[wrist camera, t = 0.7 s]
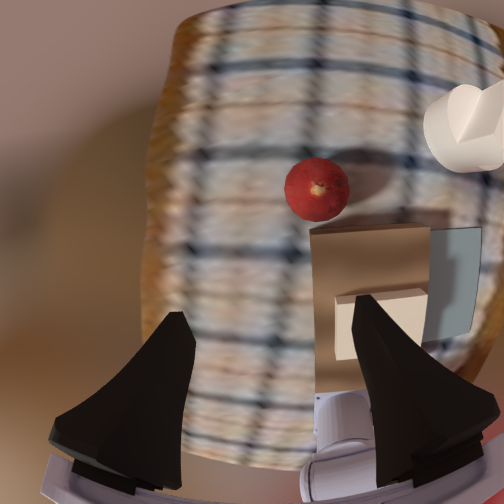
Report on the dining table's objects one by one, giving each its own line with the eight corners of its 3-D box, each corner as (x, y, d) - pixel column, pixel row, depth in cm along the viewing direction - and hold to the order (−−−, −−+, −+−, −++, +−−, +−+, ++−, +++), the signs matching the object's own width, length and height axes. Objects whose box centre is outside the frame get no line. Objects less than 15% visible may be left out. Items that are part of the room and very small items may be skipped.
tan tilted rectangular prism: (413, 339, 24) (420, 349, 22) (334, 349, 26) (336, 360, 24) (420, 287, 23) (427, 294, 21) (335, 296, 25) (337, 304, 23)
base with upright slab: (440, 86, 21) (491, 47, 10) (489, 137, 21) (549, 122, 9) (410, 135, 24) (466, 106, 12) (463, 188, 23) (530, 191, 12)
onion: (336, 158, 26) (350, 145, 18) (347, 213, 27) (364, 220, 19) (282, 168, 27) (274, 157, 19) (292, 222, 28) (289, 233, 20)
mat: (468, 331, 26) (469, 332, 26) (407, 344, 28) (408, 345, 28) (479, 227, 24) (481, 227, 23) (415, 231, 26) (416, 231, 25)
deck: (404, 363, 29) (412, 380, 25) (315, 373, 31) (315, 393, 27) (414, 222, 26) (430, 226, 22) (309, 229, 28) (310, 235, 24)
